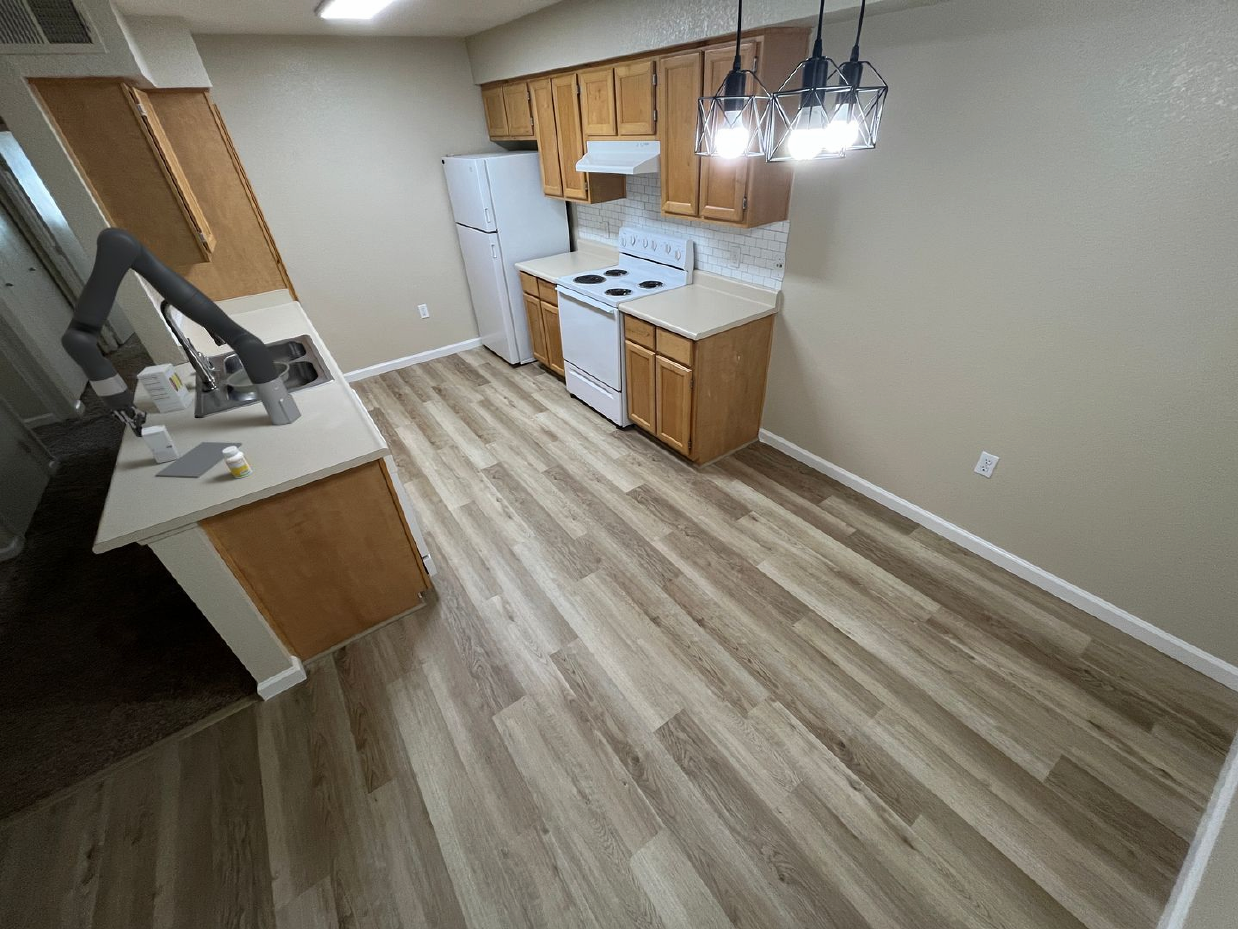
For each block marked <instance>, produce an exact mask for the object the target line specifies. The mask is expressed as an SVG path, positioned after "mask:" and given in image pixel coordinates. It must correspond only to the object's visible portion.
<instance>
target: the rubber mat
mask: <svg viewBox="0 0 1238 929" xmlns="http://www.w3.org/2000/svg"><path fill="white" fill-rule="evenodd" d="M242 445H243V443H242V442H221V441H219V442H217V441H216V442H213V441H212V442H210V441H202V442H200V443H198V444H197V445H196V446H195V447H194V448H192V449H189V451H187V452H186V453H184V454H183V455H182V456H179V457H178V459H176V460H174V461H173V462H171V463H170V464H168V465H167V466H166V467H165V468H163V469H161V470H160V471H159V472H157V473H156V474H155V477H163V478H164V477H165V478H168V477H169V478H191V479H192V478H193V479H196V478H197V479H198V478H200V477H201V476H203V475H204V474H205V473H206V472H208V471H210V470H211V469H213V467H214V466H216V465H217V464H218V463H220V462H221V461H223V460H224V457H225V456H224V454H223V452H222V451H223V450H224V449H225V448H227V447H230V446H236V447H237V449H239V447H241V446H242Z"/></svg>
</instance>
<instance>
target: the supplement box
mask: <svg viewBox="0 0 1238 929" xmlns="http://www.w3.org/2000/svg"><path fill="white" fill-rule="evenodd" d="M180 377H181V376H180V375H179V374H178V373H177V371H176V369H175V367H174V365H173V364H172V363H164V364H159V365H152V366H145V368H144V369H143V370H141V372H139V373H138V374H137V375H136V378H137V379H138V380H139V382H140V383H141V385H142V386H143V388H144V390H145V391H146V393H147V394H148V396H149V398H150V399H151V401H152V402H153V404H154V405H155V406H156V408H157V409H158V410H159V412H160V413H161V414H164V413H169V412H173V411H174V412H175V411H176V412H177V411H180V410H186V409H187V408H188V406H189V405H190V404H191V403H192V402H193V400H194V398H193V397H192V395H191V393H190V392H189V390H188V388H187V387H186V385H185V384H184V382H183V380H182V378H180Z"/></svg>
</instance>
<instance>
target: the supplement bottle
mask: <svg viewBox="0 0 1238 929" xmlns="http://www.w3.org/2000/svg"><path fill="white" fill-rule="evenodd" d="M222 452H223V454H224V456H225V457H224V459H223V461H224V462H225V464H226V466H227V467H228V469H229V470H230V473H231V474H232V476H234V478H236V479H241V478H245V477H248V476H250V475H251V474H252V473H253V471H254V470H253V467H252V466H251V464H250V463H249V461H248V459H247V457H246V456H245V454H244V453H243V452H242V451H240V450H239V448H237V447H236V446H230V447H227V448H225V449H224V450H223V451H222Z"/></svg>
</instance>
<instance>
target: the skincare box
mask: <svg viewBox="0 0 1238 929" xmlns="http://www.w3.org/2000/svg"><path fill="white" fill-rule="evenodd" d="M141 438H143V440H144V442H145V443H146V445H147V447H148V449H149V450H150V452H151V454H152V456H153V458H154V459H155V461H156V463H157V464H161V463H166V462H170V461H176V460H177V459H179V458H180V456H179V450H178V448H177V447H176V445H175V443H174V441H173V440H172V437H171V436H170V434H169V431H168V429H167V428H166V426H165V425H164V424H160V425H152V426H149V427H143V428H142V437H141Z"/></svg>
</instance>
